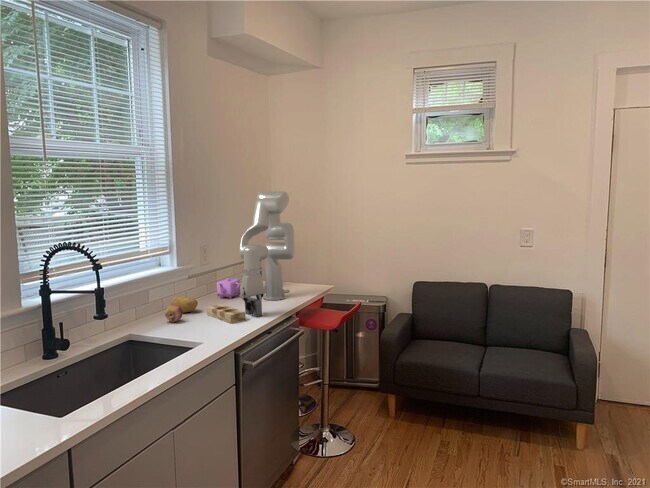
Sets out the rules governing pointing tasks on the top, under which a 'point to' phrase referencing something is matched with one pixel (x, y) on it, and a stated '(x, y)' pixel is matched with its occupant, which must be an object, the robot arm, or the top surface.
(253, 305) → the gray pronged block
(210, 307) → the wooden block with holes
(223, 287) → the teapot
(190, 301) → the potato
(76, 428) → the top surface
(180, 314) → the fruit
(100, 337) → the top surface
